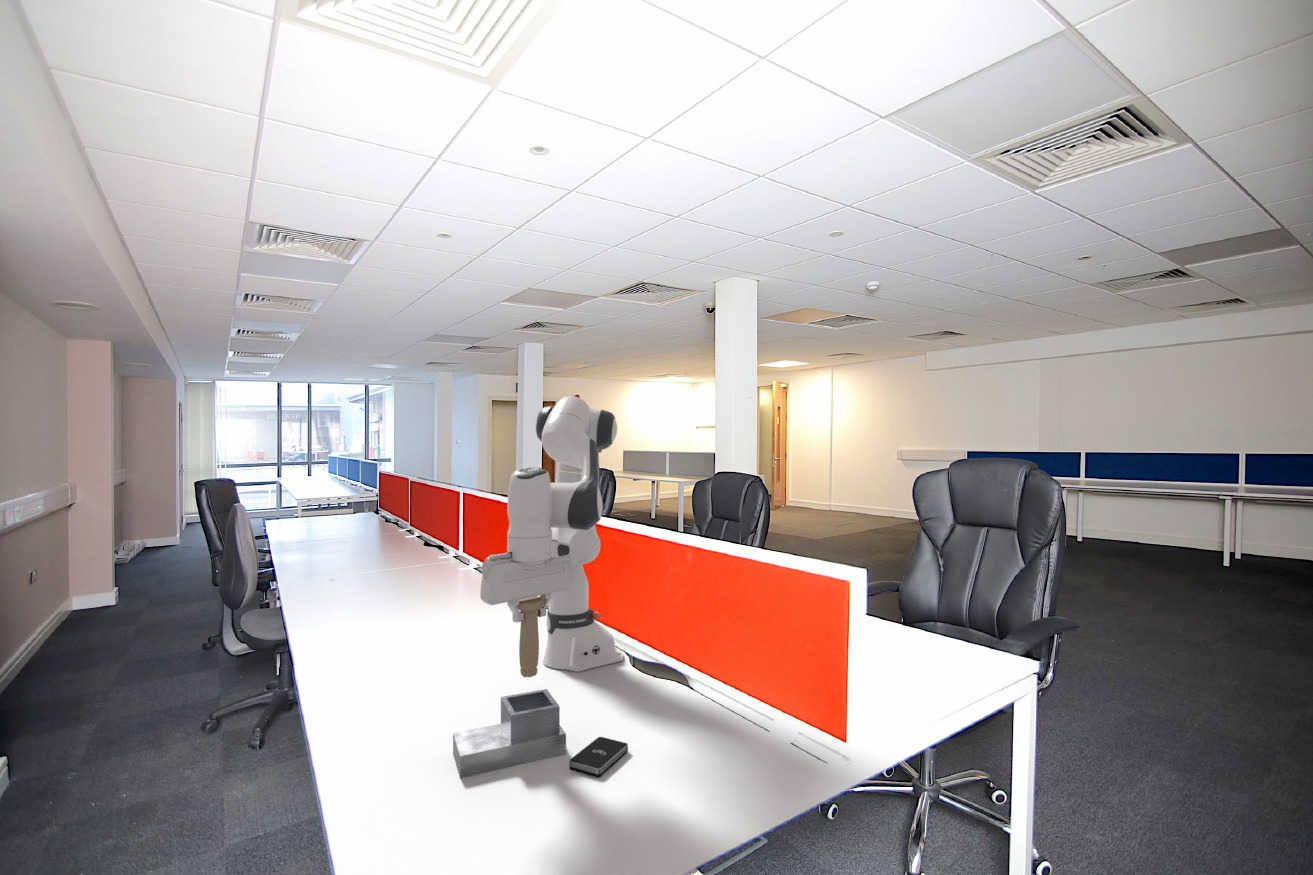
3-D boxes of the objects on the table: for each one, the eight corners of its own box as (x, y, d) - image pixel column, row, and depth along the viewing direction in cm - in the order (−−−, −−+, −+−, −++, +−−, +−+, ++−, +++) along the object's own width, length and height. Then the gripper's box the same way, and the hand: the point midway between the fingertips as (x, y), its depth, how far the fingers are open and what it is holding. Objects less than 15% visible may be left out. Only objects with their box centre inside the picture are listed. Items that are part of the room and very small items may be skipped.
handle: (512, 681, 120) (513, 603, 120) (520, 668, 126) (521, 595, 126) (537, 681, 120) (537, 604, 120) (544, 669, 126) (544, 596, 126)
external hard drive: (629, 753, 121) (629, 743, 121) (599, 781, 112) (599, 769, 112) (599, 745, 125) (599, 736, 125) (567, 771, 115) (567, 761, 115)
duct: (552, 732, 130) (552, 687, 130) (566, 754, 121) (566, 705, 121) (453, 753, 121) (453, 704, 121) (460, 778, 112) (460, 725, 112)
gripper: (490, 558, 113) (490, 633, 113) (579, 545, 128) (579, 612, 128) (474, 553, 118) (474, 626, 118) (561, 542, 132) (561, 606, 132)
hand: (529, 618), depth 123 cm, fingers closed on handle, 4 cm apart
